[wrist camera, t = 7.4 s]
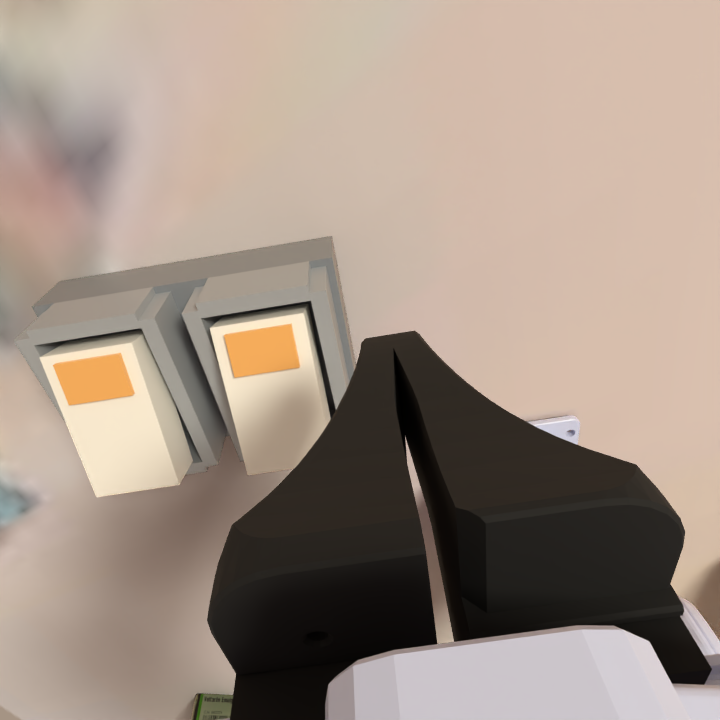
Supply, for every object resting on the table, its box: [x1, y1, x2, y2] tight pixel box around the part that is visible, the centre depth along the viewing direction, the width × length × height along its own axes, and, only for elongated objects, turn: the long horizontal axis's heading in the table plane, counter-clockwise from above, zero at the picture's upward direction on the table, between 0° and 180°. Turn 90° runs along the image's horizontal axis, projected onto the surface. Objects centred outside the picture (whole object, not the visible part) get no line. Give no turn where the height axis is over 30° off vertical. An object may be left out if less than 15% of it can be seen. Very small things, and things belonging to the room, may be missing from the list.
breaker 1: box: [39, 330, 193, 497], centre depth 19 cm, size 6×3×2 cm, turn 9°
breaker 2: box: [210, 303, 331, 475], centre depth 19 cm, size 6×3×2 cm, turn 9°
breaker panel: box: [14, 236, 356, 475], centre depth 21 cm, size 8×12×5 cm, turn 99°
